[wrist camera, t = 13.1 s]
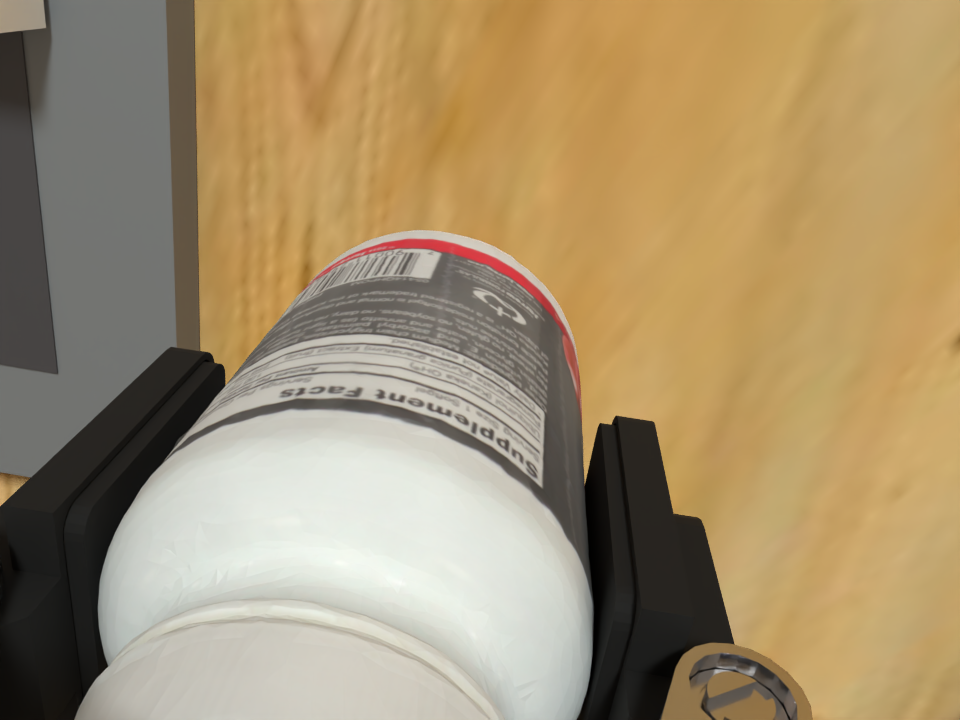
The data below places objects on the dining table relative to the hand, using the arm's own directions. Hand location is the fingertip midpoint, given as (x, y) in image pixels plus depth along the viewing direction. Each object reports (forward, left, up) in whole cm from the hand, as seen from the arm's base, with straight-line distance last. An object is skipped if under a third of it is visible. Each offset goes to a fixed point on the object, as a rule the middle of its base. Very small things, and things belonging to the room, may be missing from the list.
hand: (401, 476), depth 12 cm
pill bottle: (0, 0, -4) cm, 4 cm away
